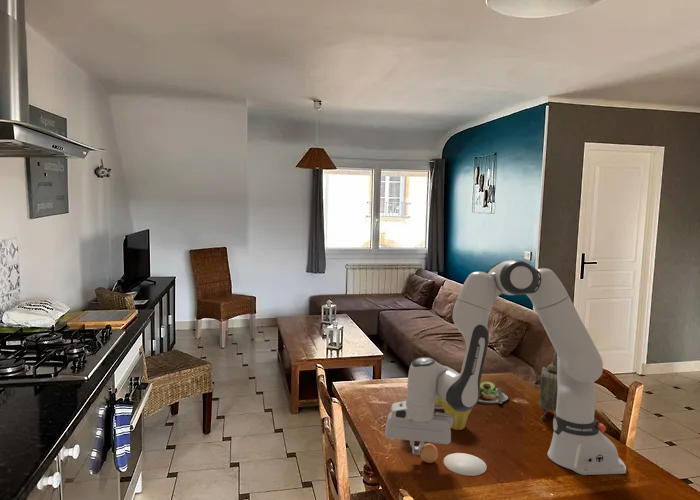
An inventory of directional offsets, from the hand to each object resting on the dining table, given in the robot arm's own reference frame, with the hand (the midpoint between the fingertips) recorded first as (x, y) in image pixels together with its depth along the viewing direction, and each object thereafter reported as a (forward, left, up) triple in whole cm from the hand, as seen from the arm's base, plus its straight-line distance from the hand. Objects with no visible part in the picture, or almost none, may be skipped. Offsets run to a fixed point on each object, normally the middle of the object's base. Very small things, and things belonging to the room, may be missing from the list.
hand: (416, 453), depth 149 cm
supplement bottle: (-11, -44, -3) cm, 46 cm away
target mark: (-15, 0, -2) cm, 15 cm away
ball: (-4, 0, 0) cm, 4 cm away
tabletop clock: (-55, -42, -3) cm, 70 cm away
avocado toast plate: (-33, -59, -3) cm, 68 cm away
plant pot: (-16, -27, -3) cm, 32 cm away
